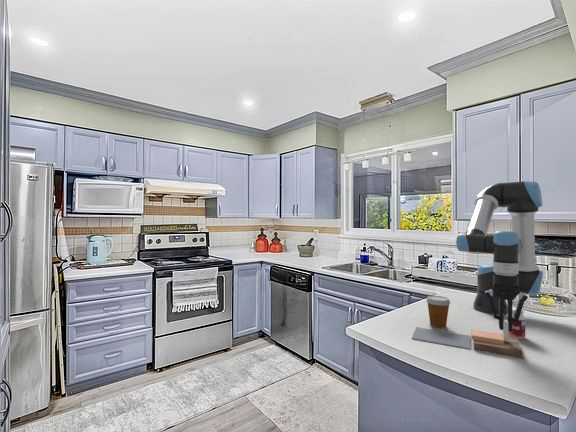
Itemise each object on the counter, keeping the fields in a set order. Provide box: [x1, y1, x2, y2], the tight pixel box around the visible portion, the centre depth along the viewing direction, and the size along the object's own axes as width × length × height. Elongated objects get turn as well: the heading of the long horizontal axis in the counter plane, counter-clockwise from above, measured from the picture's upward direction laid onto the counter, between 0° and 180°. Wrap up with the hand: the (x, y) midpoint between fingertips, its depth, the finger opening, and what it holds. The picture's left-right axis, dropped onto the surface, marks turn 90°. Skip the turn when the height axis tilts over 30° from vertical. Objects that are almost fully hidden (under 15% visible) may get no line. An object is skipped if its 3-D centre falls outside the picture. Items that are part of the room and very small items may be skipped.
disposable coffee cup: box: [426, 295, 451, 329], centre depth 140 cm, size 10×10×12 cm
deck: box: [473, 334, 523, 359], centre depth 118 cm, size 14×14×2 cm
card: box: [470, 329, 504, 345], centre depth 119 cm, size 7×10×2 cm
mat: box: [411, 326, 472, 350], centre depth 126 cm, size 14×20×1 cm
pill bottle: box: [506, 306, 527, 340], centre depth 128 cm, size 6×6×11 cm
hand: (505, 339), depth 116 cm, fingers closed
